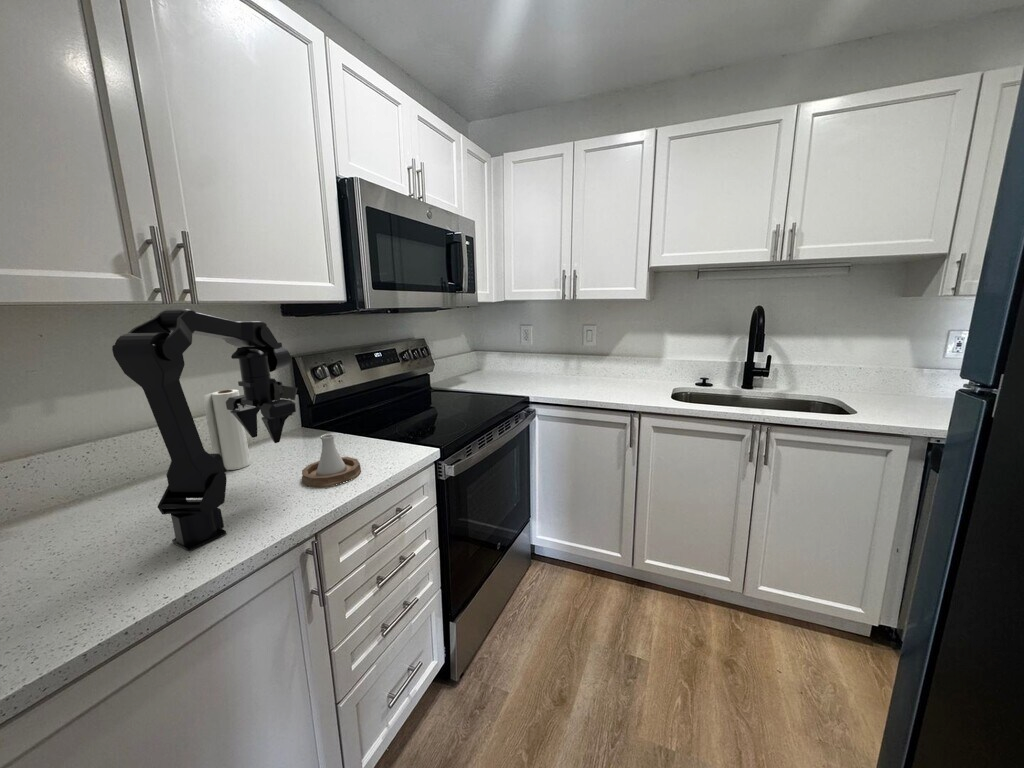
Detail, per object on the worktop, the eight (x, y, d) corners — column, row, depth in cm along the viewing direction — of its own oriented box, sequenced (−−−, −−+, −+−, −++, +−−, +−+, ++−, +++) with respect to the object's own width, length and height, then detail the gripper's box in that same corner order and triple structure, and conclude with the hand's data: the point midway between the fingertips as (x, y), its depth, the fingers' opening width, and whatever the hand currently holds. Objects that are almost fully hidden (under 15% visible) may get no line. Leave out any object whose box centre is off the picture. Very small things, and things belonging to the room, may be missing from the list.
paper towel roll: (253, 460, 116) (241, 388, 112) (247, 468, 111) (234, 392, 106) (224, 464, 114) (211, 390, 110) (216, 472, 108) (202, 394, 104)
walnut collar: (326, 491, 96) (325, 482, 95) (290, 480, 102) (288, 472, 102) (372, 470, 108) (371, 461, 107) (337, 461, 114) (336, 453, 114)
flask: (336, 479, 101) (332, 440, 99) (310, 477, 102) (305, 440, 100) (352, 467, 108) (348, 431, 106) (327, 466, 109) (322, 430, 107)
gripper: (313, 372, 96) (320, 435, 99) (267, 368, 105) (275, 425, 108) (266, 381, 87) (276, 450, 90) (219, 375, 96) (230, 438, 99)
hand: (265, 439), depth 97 cm, fingers open, 9 cm apart
